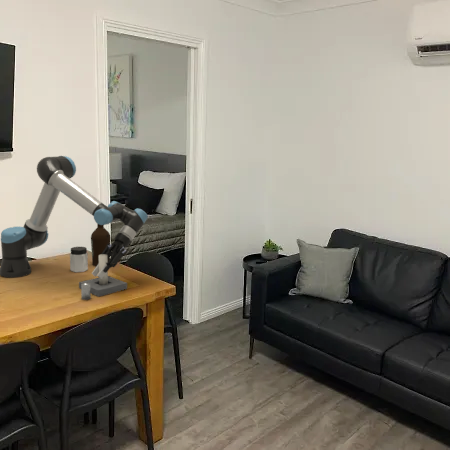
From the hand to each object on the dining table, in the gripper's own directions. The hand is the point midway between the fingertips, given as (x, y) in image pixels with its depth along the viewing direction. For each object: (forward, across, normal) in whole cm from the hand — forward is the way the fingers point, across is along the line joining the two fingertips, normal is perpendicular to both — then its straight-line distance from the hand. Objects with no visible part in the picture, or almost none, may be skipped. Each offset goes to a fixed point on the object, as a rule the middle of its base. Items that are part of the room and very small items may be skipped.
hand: (96, 276), depth 224 cm
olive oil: (-14, +36, -24) cm, 46 cm away
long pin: (+1, 0, -6) cm, 6 cm away
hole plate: (+2, 0, -8) cm, 8 cm away
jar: (-3, +34, -13) cm, 37 cm away
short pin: (+12, -6, +2) cm, 13 cm away
